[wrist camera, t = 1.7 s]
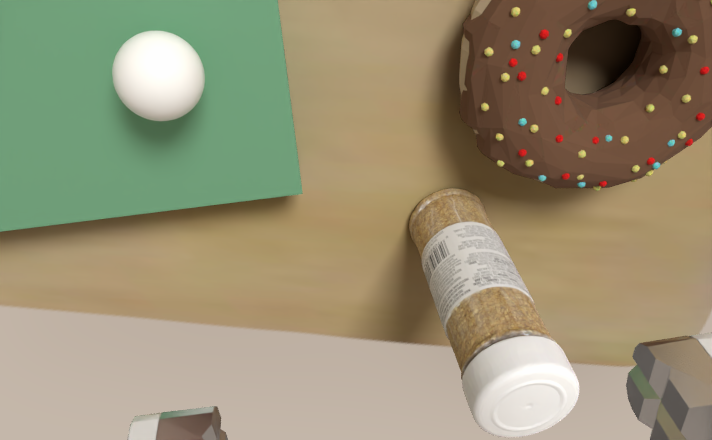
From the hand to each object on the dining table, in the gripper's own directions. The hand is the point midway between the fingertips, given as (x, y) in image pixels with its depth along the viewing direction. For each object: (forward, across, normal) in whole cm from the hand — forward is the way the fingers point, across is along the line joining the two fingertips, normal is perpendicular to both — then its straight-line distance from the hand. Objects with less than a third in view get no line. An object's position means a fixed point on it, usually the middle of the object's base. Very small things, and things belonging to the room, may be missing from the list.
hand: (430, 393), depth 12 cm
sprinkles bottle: (+22, -6, +12) cm, 25 cm away
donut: (+22, -12, +2) cm, 25 cm away
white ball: (+17, +7, -1) cm, 18 cm away
